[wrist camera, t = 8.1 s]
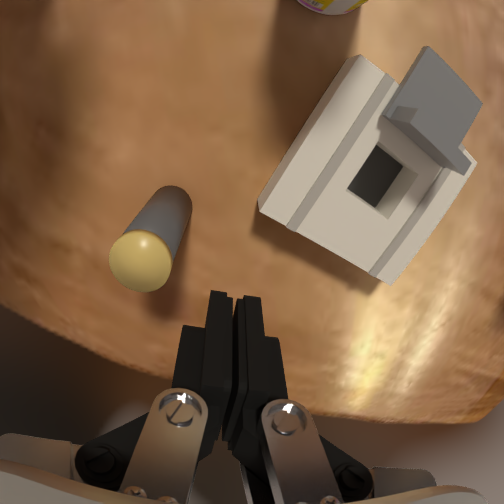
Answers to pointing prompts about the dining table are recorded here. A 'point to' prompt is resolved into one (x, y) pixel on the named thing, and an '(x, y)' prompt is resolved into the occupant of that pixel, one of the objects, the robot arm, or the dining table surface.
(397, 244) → the socket
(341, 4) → the supplement bottle
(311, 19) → the dining table surface
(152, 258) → the plug
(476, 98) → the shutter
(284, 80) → the dining table surface
